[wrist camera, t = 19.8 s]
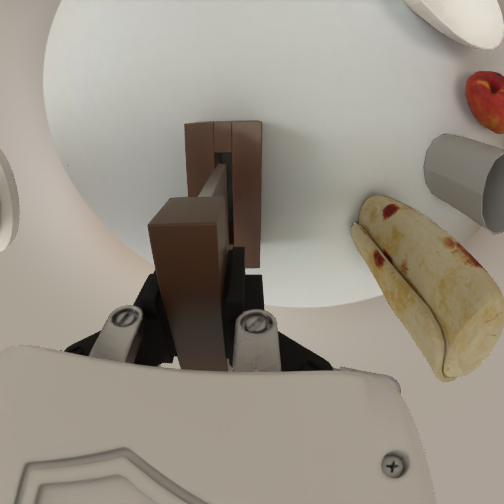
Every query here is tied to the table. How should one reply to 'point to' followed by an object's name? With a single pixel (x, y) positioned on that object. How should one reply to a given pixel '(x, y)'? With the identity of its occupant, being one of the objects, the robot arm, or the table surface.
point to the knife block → (243, 172)
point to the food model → (431, 285)
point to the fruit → (487, 99)
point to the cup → (468, 178)
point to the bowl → (464, 20)
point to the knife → (194, 271)
